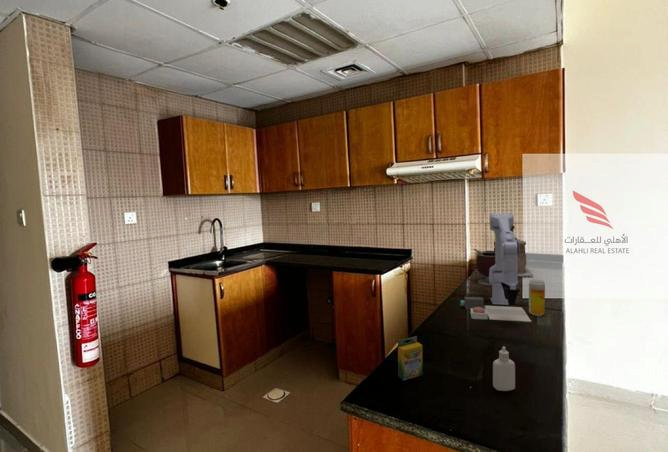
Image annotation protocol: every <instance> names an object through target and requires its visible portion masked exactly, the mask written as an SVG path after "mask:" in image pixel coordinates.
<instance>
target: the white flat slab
mask: <svg viewBox="0 0 668 452" xmlns="http://www.w3.org/2000/svg"><path fill="white" fill-rule="evenodd" d="M484 309H486V311H487V314H488V320H491V321H494V320H495V321H508V322H509V321H510V322H525V323H531V322H532V320H531V319H530V317H529V316H528V314H527V313H526V311H525V310H524V308H523V307H522V306H521V307H520V306H504V305H500V306H499V305H484Z"/></svg>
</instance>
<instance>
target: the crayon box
mask: <svg viewBox="0 0 668 452" xmlns="http://www.w3.org/2000/svg"><path fill="white" fill-rule="evenodd" d="M406 341H408V342H406ZM397 365H398V366H397V372H398V374H397V375H398V378H400V379H401V381H407V380H411V379H414V378H418V377H421V376H423V374H424V372H423V368H424V367H423V344H421V343H420V342H418V336H417V335H416V336H411V337H407V338H403V339H400V340H399V339H398V340H397Z"/></svg>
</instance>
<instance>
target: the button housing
mask: <svg viewBox="0 0 668 452" xmlns="http://www.w3.org/2000/svg"><path fill="white" fill-rule="evenodd" d="M469 310H470V317H471V319H473V320H489V317H488V314H487V311H486V309H485V308H484V309H483V311H484V313H474V308H470V309H469Z"/></svg>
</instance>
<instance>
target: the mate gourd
mask: <svg viewBox="0 0 668 452" xmlns="http://www.w3.org/2000/svg"><path fill="white" fill-rule="evenodd" d="M473 251H476V252H477V255H476V259H475V260H476V261H475V262H476V263H475V265H476V269H477V271H478V273H479V274H480V275H482V276H485V278H482V279H477V283H478V284H481V285H485V286H492V284H491V283H490V281H489V271H490V268H491V267H492V266H493V265H495V264H496V262H495V252H492V251H491V252H487V251H485V252H483V251H480V250H478V249H475V248H473Z"/></svg>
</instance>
